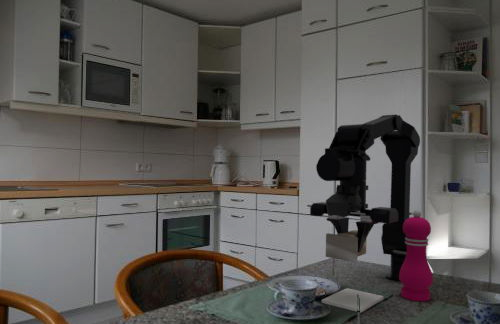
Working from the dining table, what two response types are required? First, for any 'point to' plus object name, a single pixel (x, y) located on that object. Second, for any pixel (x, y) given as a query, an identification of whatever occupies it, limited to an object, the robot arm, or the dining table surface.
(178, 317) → the dining table surface
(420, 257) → the pepper mill
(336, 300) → the mat
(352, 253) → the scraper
